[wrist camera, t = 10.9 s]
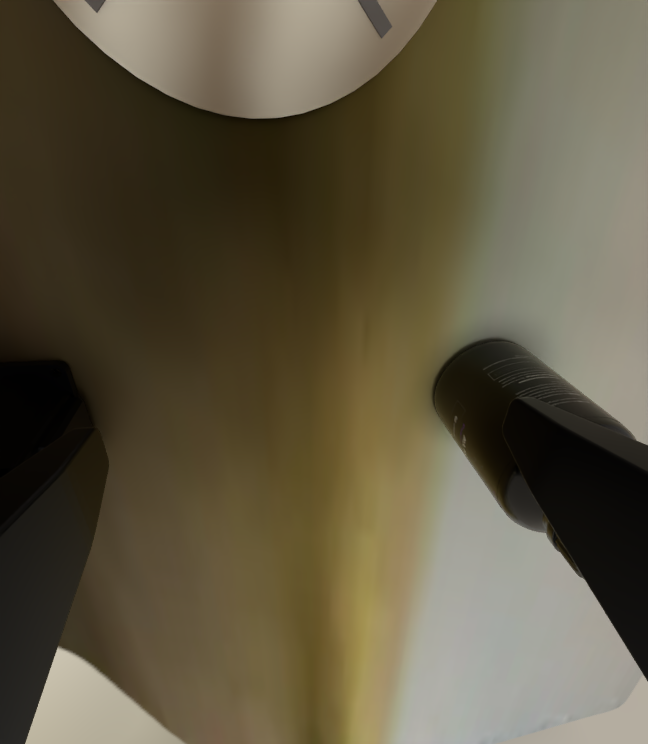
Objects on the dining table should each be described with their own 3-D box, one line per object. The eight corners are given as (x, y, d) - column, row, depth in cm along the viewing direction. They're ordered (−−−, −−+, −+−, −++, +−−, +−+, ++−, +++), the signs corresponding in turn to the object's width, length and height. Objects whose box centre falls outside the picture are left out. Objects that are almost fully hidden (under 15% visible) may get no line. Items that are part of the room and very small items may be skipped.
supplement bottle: (410, 410, 26) (517, 587, 16) (473, 321, 23) (649, 465, 13) (487, 437, 29) (621, 605, 18) (551, 359, 26) (750, 505, 16)
